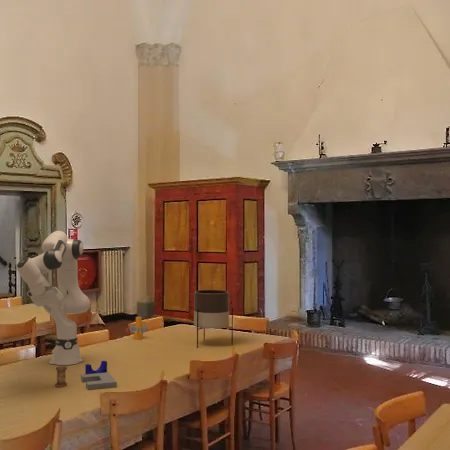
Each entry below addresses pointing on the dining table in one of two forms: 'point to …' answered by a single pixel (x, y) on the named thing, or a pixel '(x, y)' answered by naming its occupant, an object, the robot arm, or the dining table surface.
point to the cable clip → (100, 370)
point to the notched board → (98, 381)
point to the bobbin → (61, 376)
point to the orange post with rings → (138, 329)
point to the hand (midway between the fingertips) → (56, 310)
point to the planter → (211, 310)
